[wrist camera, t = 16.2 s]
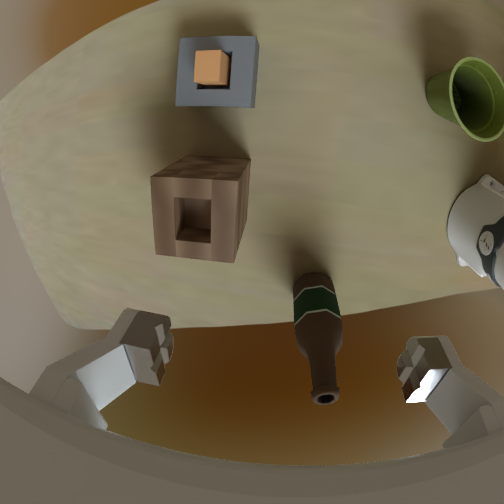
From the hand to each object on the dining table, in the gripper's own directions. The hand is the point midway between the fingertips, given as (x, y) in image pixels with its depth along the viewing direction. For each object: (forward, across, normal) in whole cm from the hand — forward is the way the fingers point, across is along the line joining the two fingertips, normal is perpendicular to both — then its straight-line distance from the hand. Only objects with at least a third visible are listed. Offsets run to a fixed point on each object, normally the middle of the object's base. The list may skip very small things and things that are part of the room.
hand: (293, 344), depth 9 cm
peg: (+35, -10, +12) cm, 38 cm away
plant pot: (+37, +25, +15) cm, 47 cm away
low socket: (+37, -10, +12) cm, 40 cm away
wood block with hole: (+37, -10, -6) cm, 39 cm away
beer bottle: (+37, +8, -23) cm, 45 cm away
